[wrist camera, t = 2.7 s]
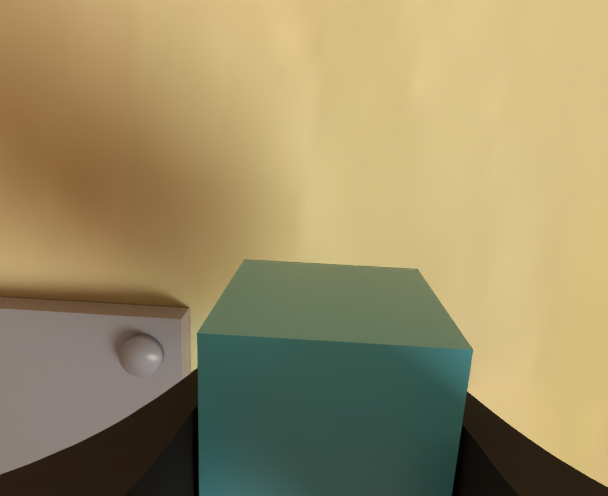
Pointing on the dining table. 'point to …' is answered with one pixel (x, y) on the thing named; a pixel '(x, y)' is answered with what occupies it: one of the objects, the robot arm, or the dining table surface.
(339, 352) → the teal brick
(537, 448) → the robot arm
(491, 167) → the dining table surface
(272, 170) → the dining table surface
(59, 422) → the baseplate
